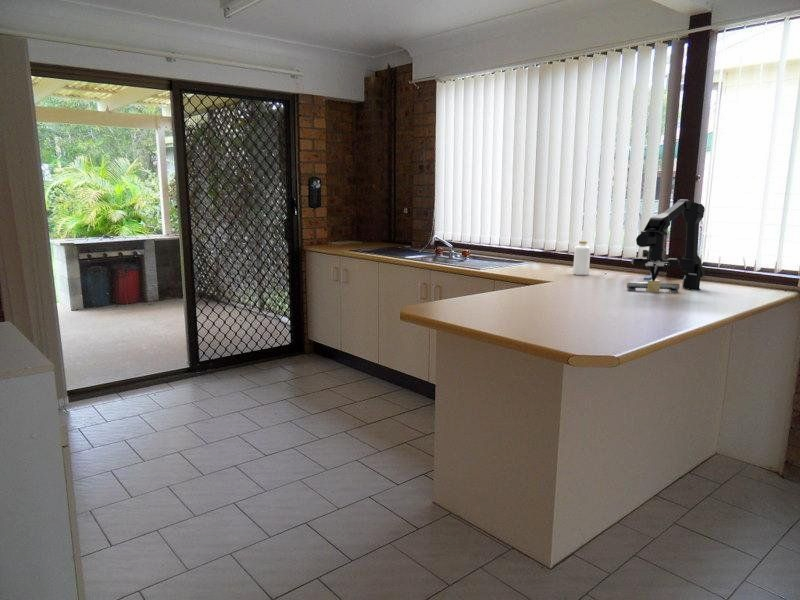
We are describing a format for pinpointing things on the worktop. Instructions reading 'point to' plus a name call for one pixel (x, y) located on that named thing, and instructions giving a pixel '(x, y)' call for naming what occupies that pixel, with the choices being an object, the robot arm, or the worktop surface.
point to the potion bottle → (581, 259)
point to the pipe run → (653, 286)
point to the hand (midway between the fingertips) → (653, 281)
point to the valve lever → (648, 278)
